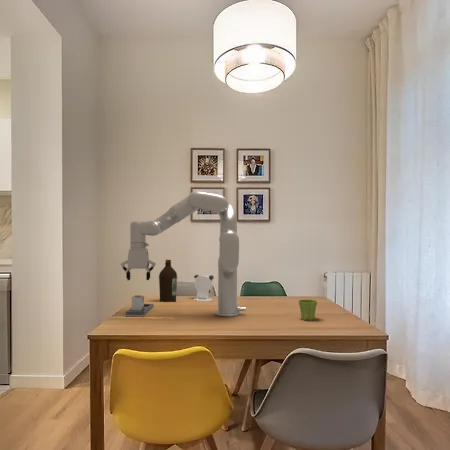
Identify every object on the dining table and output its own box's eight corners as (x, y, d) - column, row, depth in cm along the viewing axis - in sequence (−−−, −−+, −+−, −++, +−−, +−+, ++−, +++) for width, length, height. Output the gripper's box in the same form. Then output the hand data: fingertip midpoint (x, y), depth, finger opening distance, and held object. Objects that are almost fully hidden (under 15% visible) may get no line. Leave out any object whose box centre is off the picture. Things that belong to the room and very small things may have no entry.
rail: (153, 308, 221) (153, 303, 221) (144, 317, 199) (144, 311, 199) (137, 308, 221) (137, 303, 222) (125, 316, 199) (125, 311, 200)
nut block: (143, 311, 207) (144, 295, 207) (141, 313, 202) (141, 296, 202) (134, 311, 207) (134, 295, 207) (131, 313, 202) (131, 296, 202)
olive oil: (156, 303, 236) (156, 260, 236) (162, 300, 246) (162, 259, 247) (173, 304, 234) (174, 260, 234) (179, 301, 244) (179, 259, 245)
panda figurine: (215, 298, 254) (215, 274, 254) (210, 301, 243) (210, 276, 243) (196, 297, 257) (196, 273, 257) (191, 300, 246) (191, 275, 246)
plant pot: (306, 322, 190) (306, 303, 190) (294, 318, 198) (294, 300, 198) (322, 320, 194) (321, 301, 194) (309, 316, 203) (309, 298, 203)
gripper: (156, 245, 208) (156, 279, 208) (123, 245, 209) (123, 279, 209) (153, 246, 201) (153, 280, 200) (118, 246, 201) (119, 281, 201)
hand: (138, 280), depth 205 cm, fingers open, 9 cm apart
